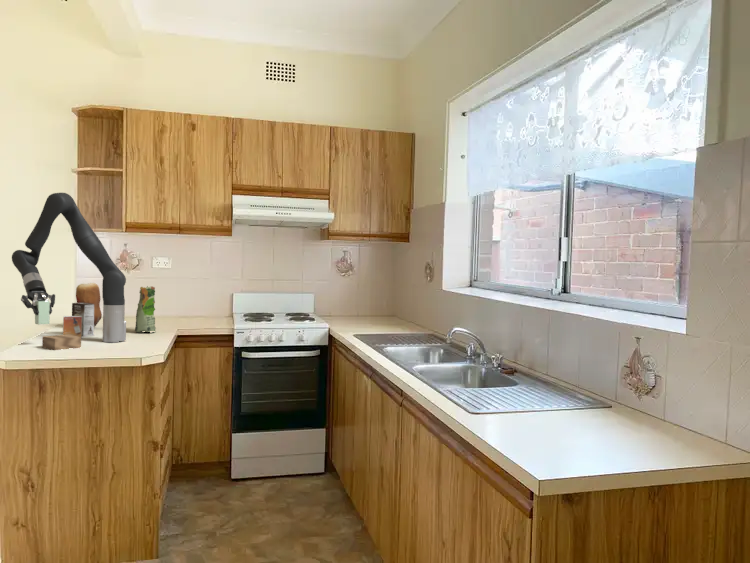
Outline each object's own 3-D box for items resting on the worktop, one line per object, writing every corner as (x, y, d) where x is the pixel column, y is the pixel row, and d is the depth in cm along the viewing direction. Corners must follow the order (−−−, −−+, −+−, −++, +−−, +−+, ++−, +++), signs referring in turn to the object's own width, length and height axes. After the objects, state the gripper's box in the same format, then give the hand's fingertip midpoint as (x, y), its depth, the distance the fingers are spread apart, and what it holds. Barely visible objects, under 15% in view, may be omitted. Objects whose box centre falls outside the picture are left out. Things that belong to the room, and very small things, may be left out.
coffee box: (70, 334, 293) (71, 302, 292) (81, 333, 299) (82, 302, 298) (83, 336, 289) (84, 303, 289) (94, 335, 295) (95, 303, 294)
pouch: (153, 331, 318) (154, 285, 318) (159, 333, 309) (160, 286, 308) (131, 331, 312) (132, 285, 311) (137, 334, 302) (138, 286, 301)
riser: (68, 345, 261) (68, 334, 260) (80, 348, 254) (81, 336, 254) (42, 348, 252) (42, 336, 251) (54, 350, 245) (55, 339, 245)
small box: (62, 339, 278) (63, 316, 278) (62, 337, 283) (63, 315, 283) (81, 338, 282) (82, 316, 282) (81, 337, 287) (81, 315, 287)
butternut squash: (71, 327, 321) (72, 282, 320) (97, 326, 330) (98, 282, 329) (78, 330, 311) (79, 283, 310) (105, 329, 319) (106, 283, 319)
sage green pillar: (45, 323, 261) (45, 300, 260) (49, 323, 258) (49, 301, 258) (35, 323, 258) (34, 301, 257) (38, 324, 255) (38, 301, 254)
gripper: (18, 279, 257) (27, 309, 249) (53, 279, 267) (63, 307, 260) (14, 291, 260) (23, 320, 253) (49, 290, 271) (59, 318, 263)
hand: (43, 313), depth 256 cm, fingers closed on sage green pillar, 4 cm apart
